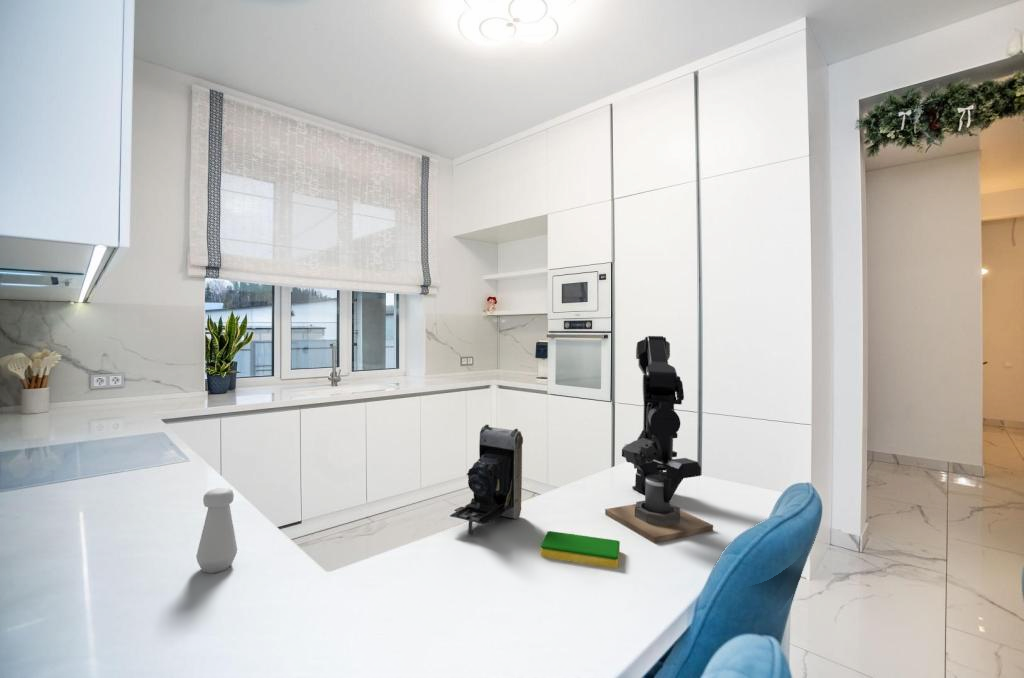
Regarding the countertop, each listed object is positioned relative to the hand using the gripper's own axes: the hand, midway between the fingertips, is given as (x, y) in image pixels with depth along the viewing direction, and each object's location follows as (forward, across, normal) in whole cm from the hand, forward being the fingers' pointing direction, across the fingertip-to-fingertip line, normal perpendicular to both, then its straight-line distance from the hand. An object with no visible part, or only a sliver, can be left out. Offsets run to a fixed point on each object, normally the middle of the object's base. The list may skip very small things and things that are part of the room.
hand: (657, 498), depth 103 cm
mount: (+5, 0, 0) cm, 5 cm away
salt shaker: (+5, -13, -84) cm, 85 cm away
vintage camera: (+6, -13, -35) cm, 38 cm away
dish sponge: (+6, +6, -24) cm, 26 cm away
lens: (+2, 0, 0) cm, 2 cm away
